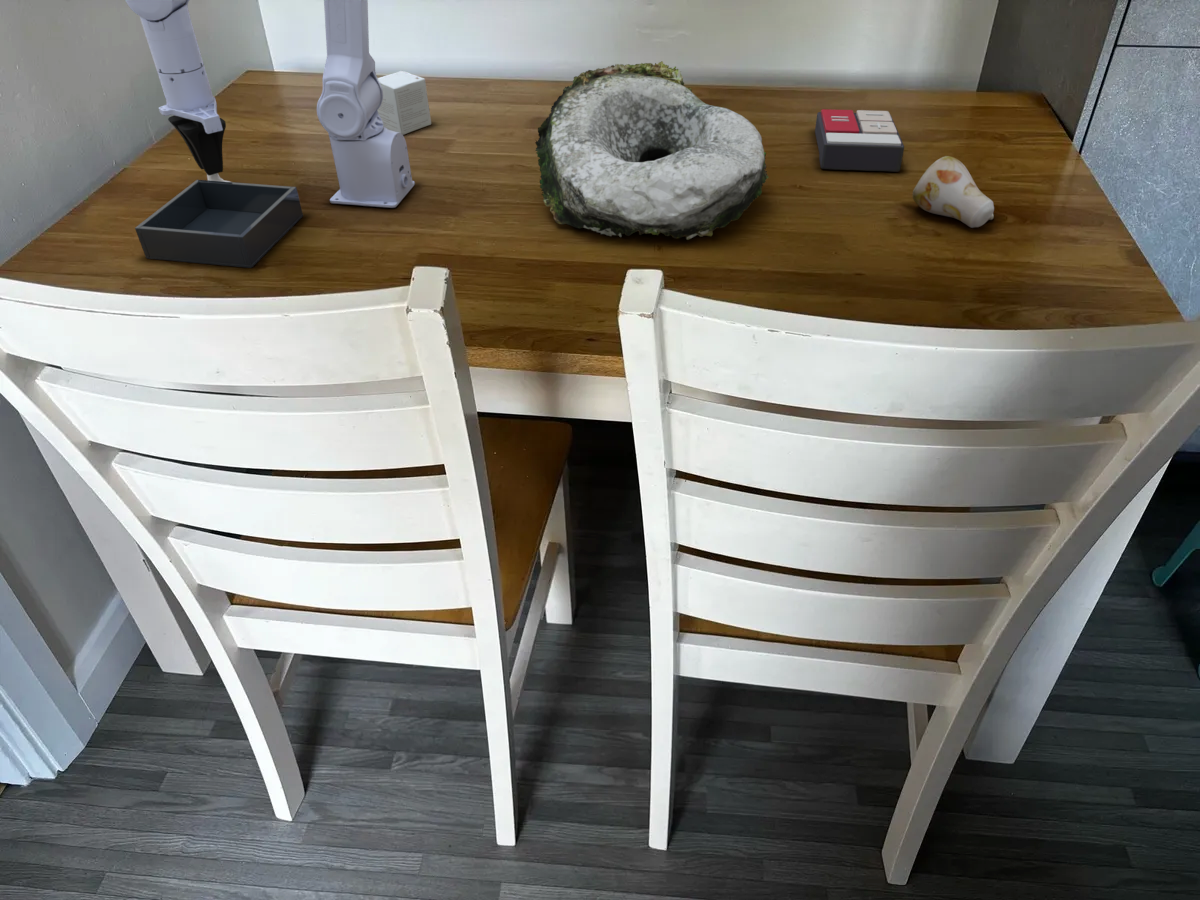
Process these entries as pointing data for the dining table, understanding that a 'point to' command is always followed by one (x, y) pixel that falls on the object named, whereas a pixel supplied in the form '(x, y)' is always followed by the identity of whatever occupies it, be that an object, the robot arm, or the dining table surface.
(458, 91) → the dining table surface
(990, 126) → the dining table surface
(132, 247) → the dining table surface
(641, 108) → the stone basin
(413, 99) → the product box
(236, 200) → the square open tray
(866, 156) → the calculator
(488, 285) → the dining table surface
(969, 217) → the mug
